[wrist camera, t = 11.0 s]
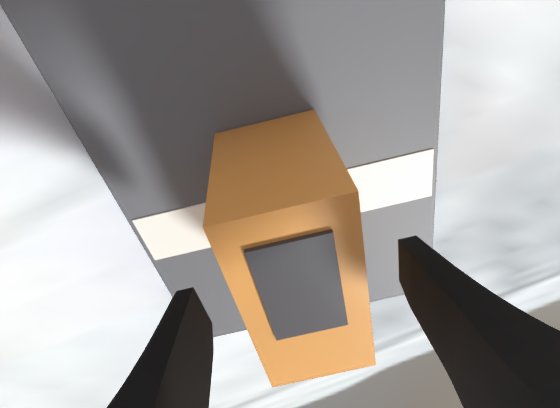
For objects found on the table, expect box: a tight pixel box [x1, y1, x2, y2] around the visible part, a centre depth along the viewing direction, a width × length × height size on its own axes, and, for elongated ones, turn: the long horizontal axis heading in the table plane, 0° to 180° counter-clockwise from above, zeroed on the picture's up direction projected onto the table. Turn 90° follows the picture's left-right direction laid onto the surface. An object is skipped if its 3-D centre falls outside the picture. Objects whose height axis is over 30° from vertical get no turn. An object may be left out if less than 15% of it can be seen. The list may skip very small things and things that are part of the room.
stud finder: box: [203, 109, 376, 387], centre depth 13 cm, size 4×8×6 cm, turn 12°
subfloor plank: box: [0, 0, 445, 337], centre depth 15 cm, size 14×21×1 cm, turn 12°
